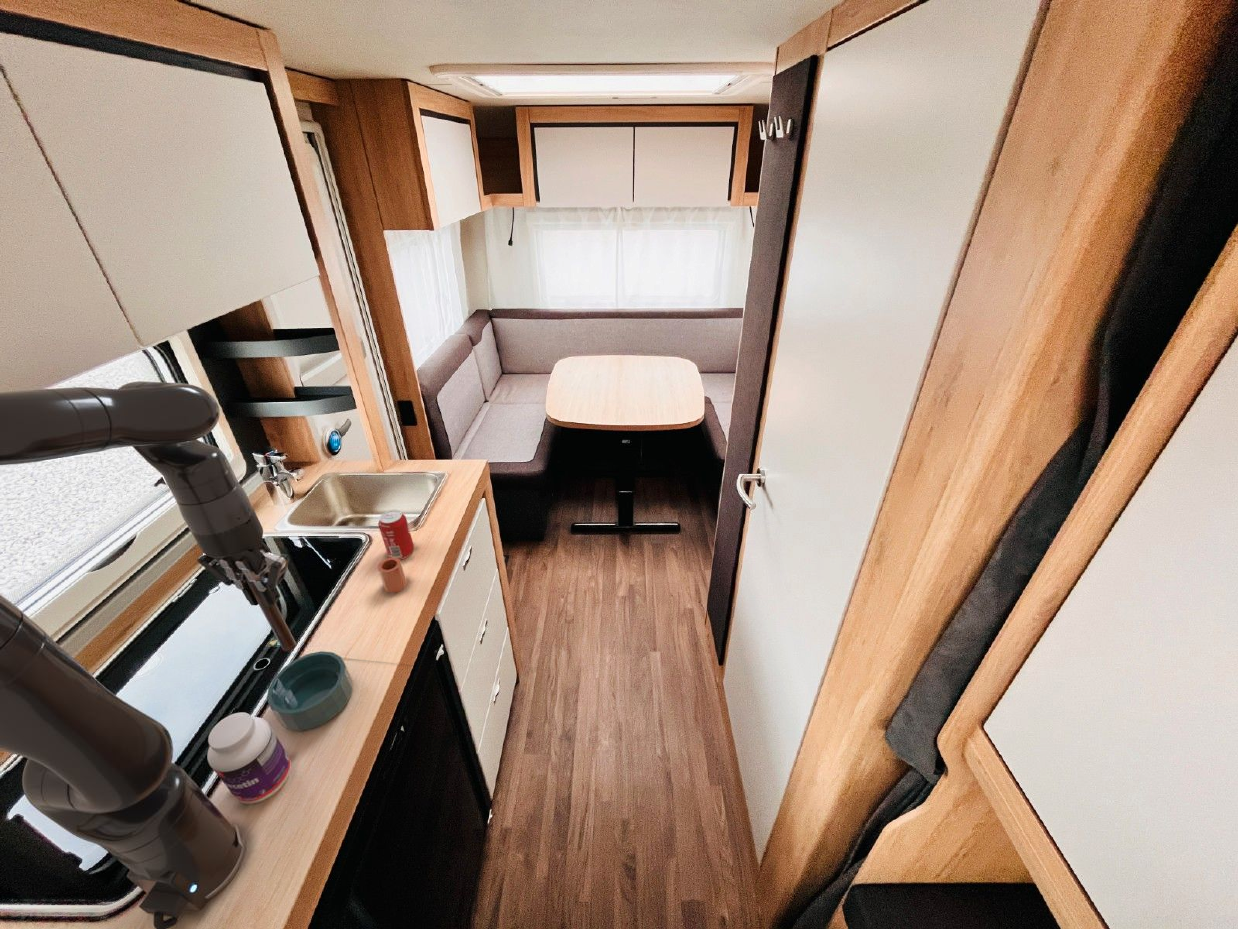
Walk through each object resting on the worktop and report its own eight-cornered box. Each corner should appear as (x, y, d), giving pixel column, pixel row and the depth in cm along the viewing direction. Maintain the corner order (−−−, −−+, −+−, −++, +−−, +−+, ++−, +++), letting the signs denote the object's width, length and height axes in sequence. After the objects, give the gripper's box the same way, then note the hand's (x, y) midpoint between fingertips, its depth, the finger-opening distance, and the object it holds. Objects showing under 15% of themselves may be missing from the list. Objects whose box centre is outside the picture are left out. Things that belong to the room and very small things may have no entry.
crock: (401, 595, 117) (394, 573, 113) (381, 593, 117) (373, 571, 113) (410, 580, 121) (404, 558, 117) (391, 578, 121) (384, 556, 117)
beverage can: (420, 547, 130) (409, 510, 124) (405, 564, 125) (394, 526, 119) (398, 543, 132) (387, 506, 125) (383, 559, 126) (371, 522, 120)
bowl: (329, 736, 89) (319, 717, 86) (263, 729, 90) (249, 709, 87) (366, 674, 99) (358, 654, 96) (306, 668, 100) (296, 648, 97)
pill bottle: (224, 804, 80) (182, 755, 72) (258, 752, 86) (223, 702, 79) (273, 808, 79) (236, 759, 72) (304, 756, 86) (273, 706, 78)
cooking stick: (291, 652, 86) (255, 584, 77) (280, 651, 86) (243, 583, 77) (298, 642, 87) (264, 574, 79) (288, 641, 87) (252, 573, 79)
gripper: (153, 529, 69) (207, 616, 78) (247, 537, 68) (291, 624, 77) (197, 497, 75) (243, 581, 84) (284, 503, 74) (321, 588, 83)
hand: (266, 601), depth 81 cm, fingers closed on cooking stick, 2 cm apart
